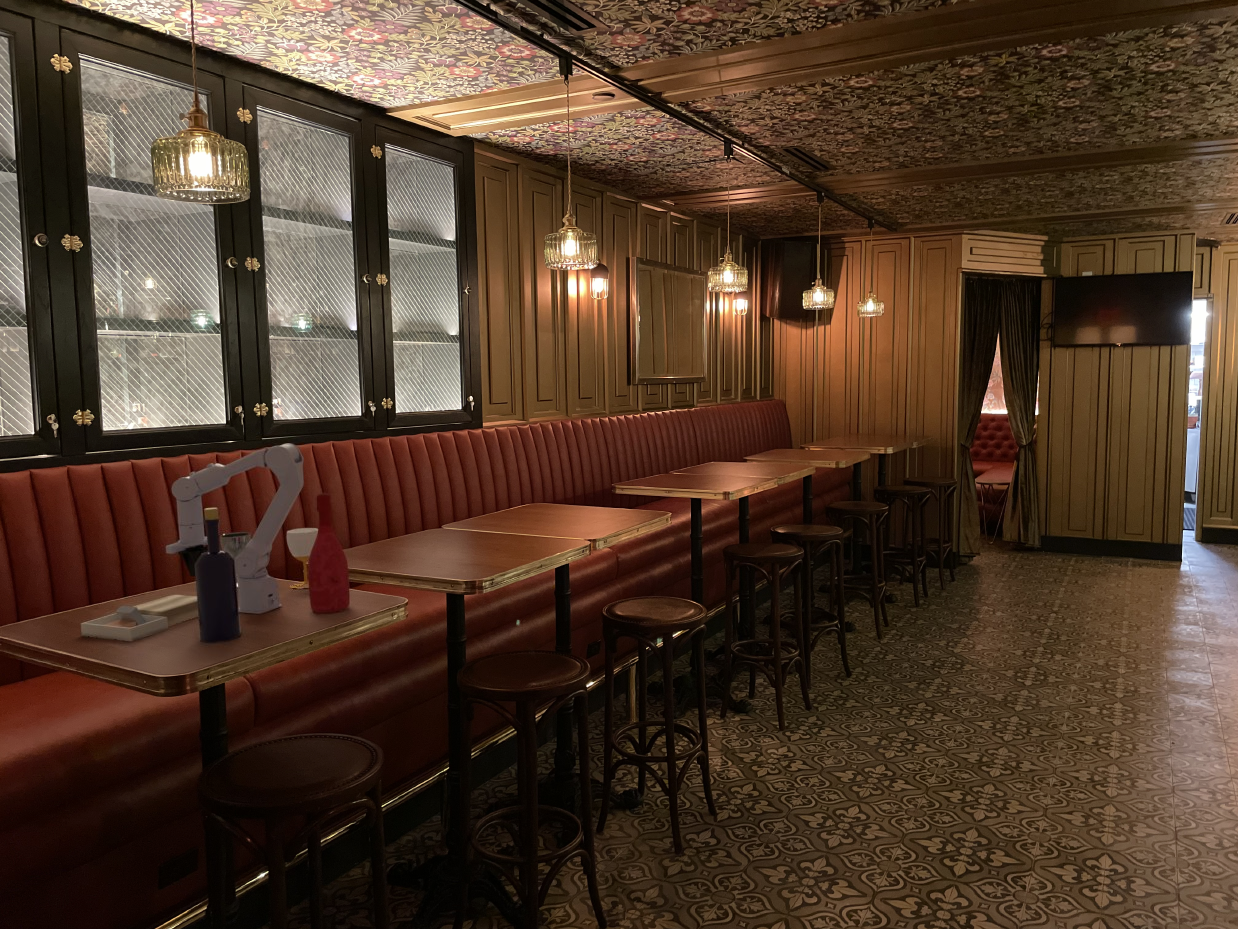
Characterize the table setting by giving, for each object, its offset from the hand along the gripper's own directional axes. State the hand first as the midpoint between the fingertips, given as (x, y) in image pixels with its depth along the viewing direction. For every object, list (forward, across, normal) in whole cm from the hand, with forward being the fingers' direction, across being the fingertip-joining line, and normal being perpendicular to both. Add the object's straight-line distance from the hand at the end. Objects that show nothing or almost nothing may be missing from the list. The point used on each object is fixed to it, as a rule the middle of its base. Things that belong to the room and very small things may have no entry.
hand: (195, 575), depth 223 cm
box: (+9, +20, -2) cm, 22 cm away
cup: (+10, -31, +8) cm, 33 cm away
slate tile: (+6, +17, -2) cm, 18 cm away
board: (+9, +7, -2) cm, 12 cm away
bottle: (+10, +16, +24) cm, 30 cm away
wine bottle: (+10, -11, +33) cm, 36 cm away
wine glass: (+10, -26, -12) cm, 30 cm away
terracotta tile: (+7, +21, -2) cm, 22 cm away
